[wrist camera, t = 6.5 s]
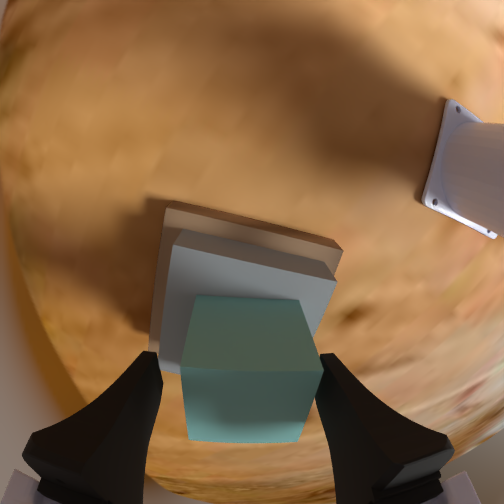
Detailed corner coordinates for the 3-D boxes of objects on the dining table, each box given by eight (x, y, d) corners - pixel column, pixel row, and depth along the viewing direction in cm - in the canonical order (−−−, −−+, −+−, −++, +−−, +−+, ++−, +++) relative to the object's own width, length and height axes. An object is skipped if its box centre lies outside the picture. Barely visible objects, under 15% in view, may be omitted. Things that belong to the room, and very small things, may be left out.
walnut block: (331, 236, 18) (343, 250, 16) (284, 355, 22) (288, 377, 19) (175, 198, 17) (166, 207, 15) (156, 329, 20) (148, 350, 18)
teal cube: (299, 300, 14) (323, 370, 10) (284, 372, 16) (297, 441, 11) (196, 294, 14) (179, 366, 9) (198, 369, 16) (188, 439, 11)
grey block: (324, 261, 16) (337, 281, 14) (281, 365, 19) (286, 391, 17) (182, 228, 15) (173, 244, 13) (165, 343, 18) (157, 369, 16)
